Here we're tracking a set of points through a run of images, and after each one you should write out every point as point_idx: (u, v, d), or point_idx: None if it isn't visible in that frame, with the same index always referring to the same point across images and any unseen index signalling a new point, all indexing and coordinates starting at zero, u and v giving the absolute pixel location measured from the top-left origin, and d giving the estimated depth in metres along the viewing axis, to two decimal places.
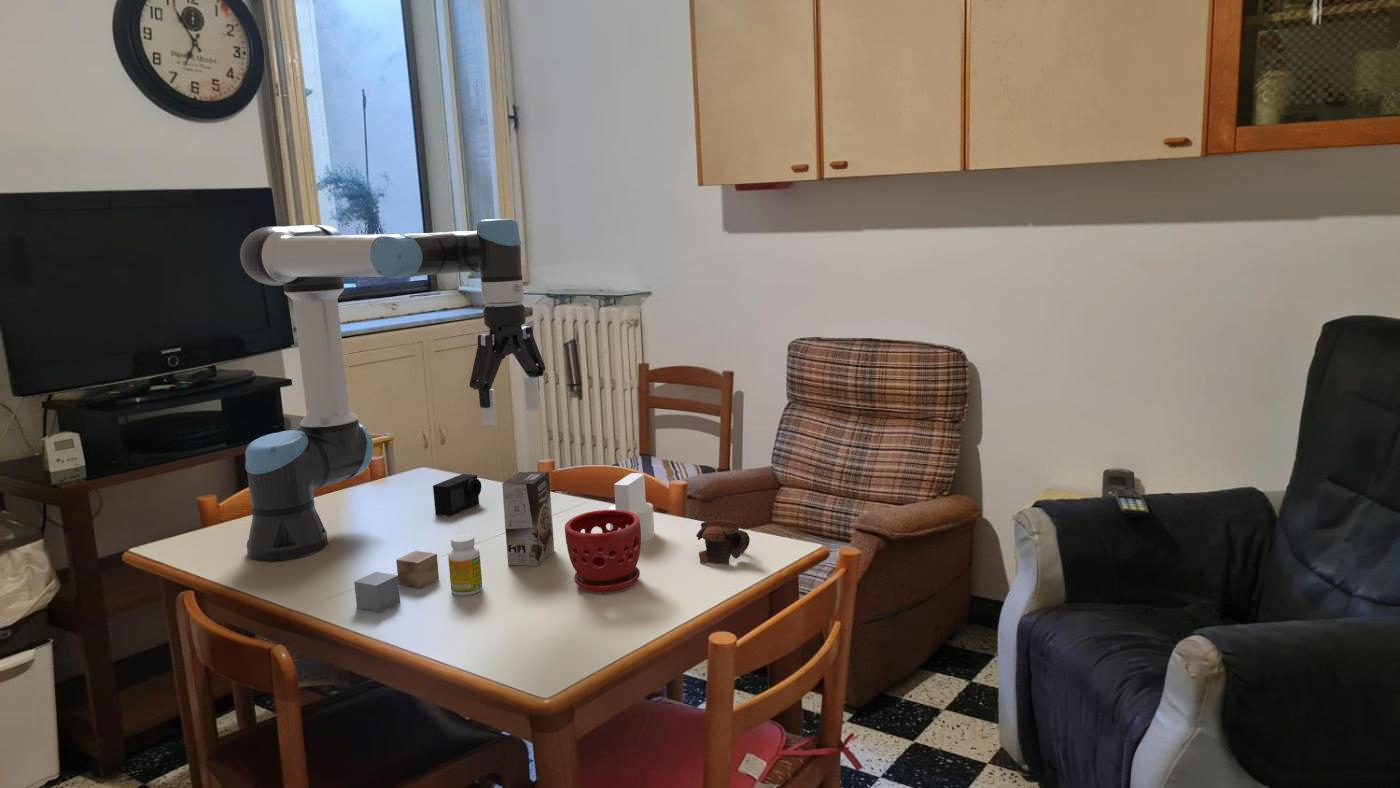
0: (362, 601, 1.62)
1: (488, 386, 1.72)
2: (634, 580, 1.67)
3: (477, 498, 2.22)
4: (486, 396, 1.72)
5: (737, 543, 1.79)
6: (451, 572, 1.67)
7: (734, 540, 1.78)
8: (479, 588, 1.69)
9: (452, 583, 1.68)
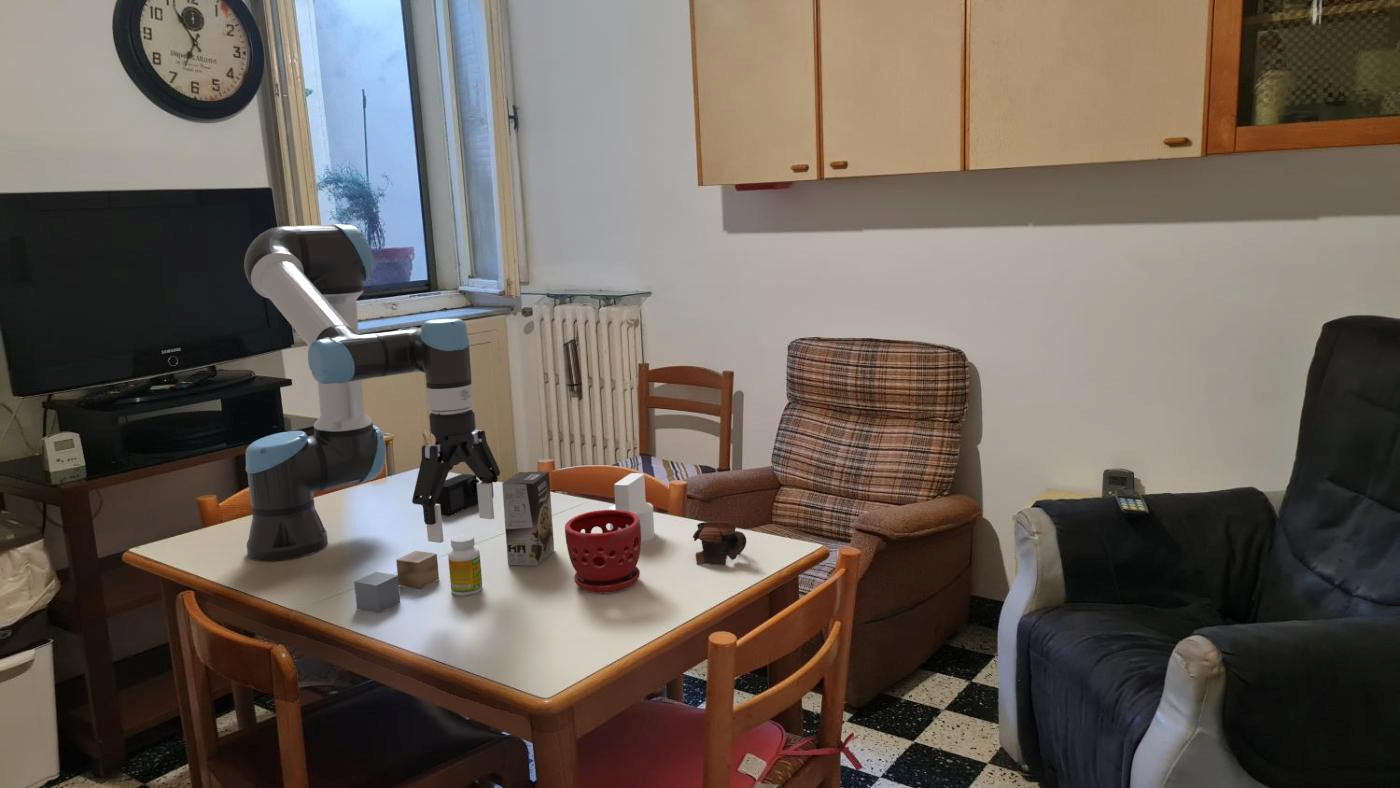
0: (362, 601, 1.62)
1: (433, 502, 1.59)
2: (634, 580, 1.67)
3: (476, 498, 2.22)
4: (431, 512, 1.59)
5: (734, 544, 1.78)
6: (451, 572, 1.67)
7: (730, 541, 1.78)
8: (479, 588, 1.69)
9: (452, 583, 1.68)
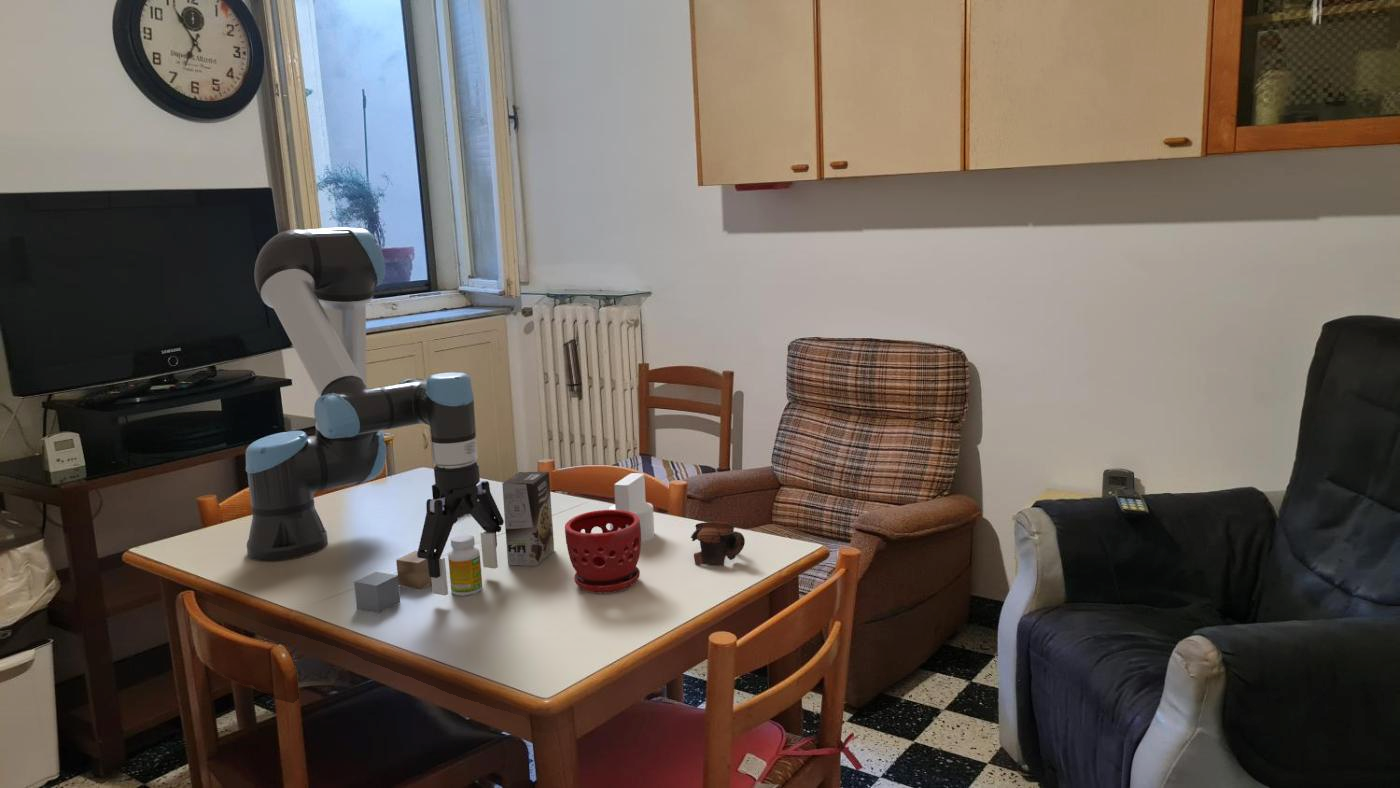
0: (362, 601, 1.62)
1: (437, 556, 1.60)
2: (634, 580, 1.67)
3: None
4: (435, 566, 1.61)
5: (732, 544, 1.78)
6: (451, 572, 1.67)
7: (729, 541, 1.78)
8: (479, 588, 1.69)
9: (452, 583, 1.68)
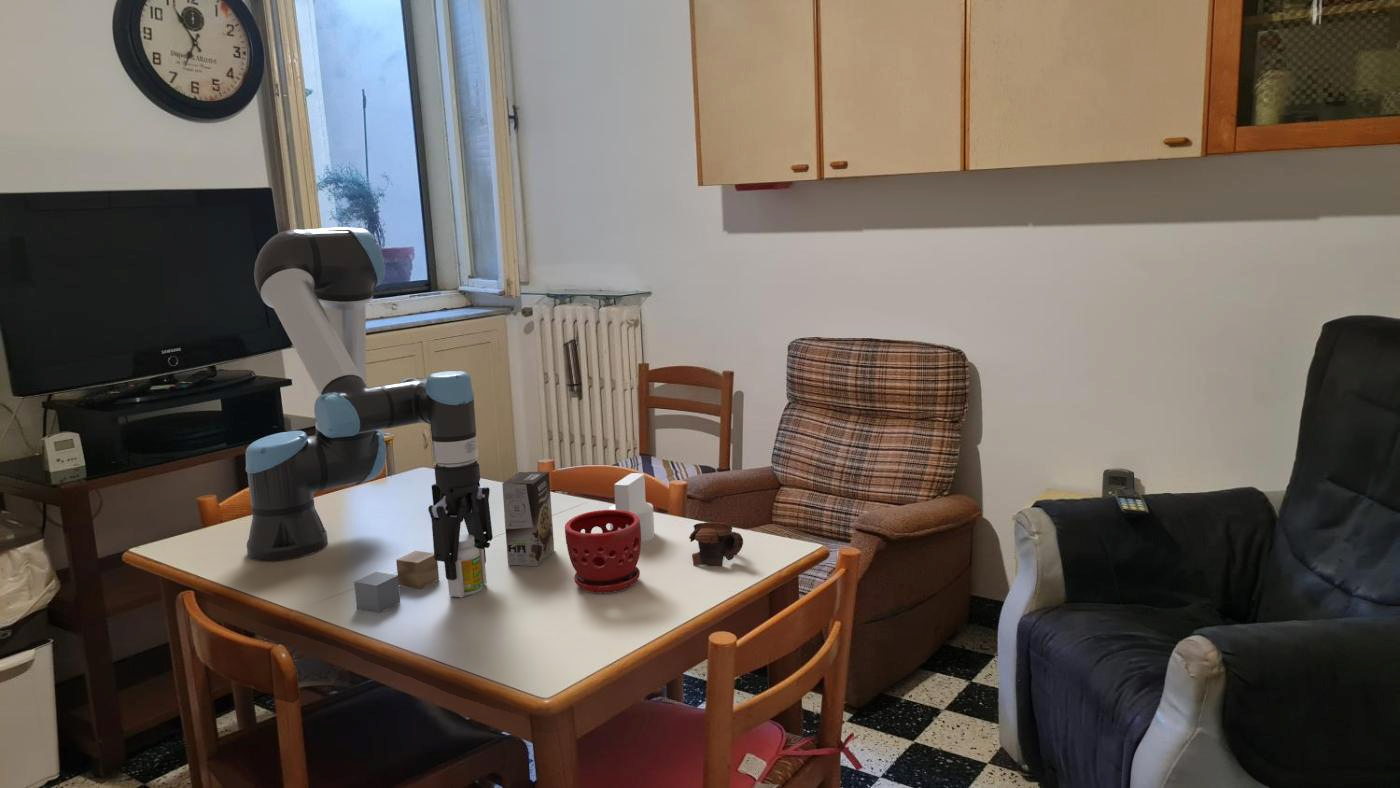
0: (362, 601, 1.62)
1: (454, 559, 1.64)
2: (634, 580, 1.67)
3: None
4: (452, 568, 1.64)
5: (730, 545, 1.78)
6: None
7: (727, 541, 1.77)
8: (479, 588, 1.69)
9: None
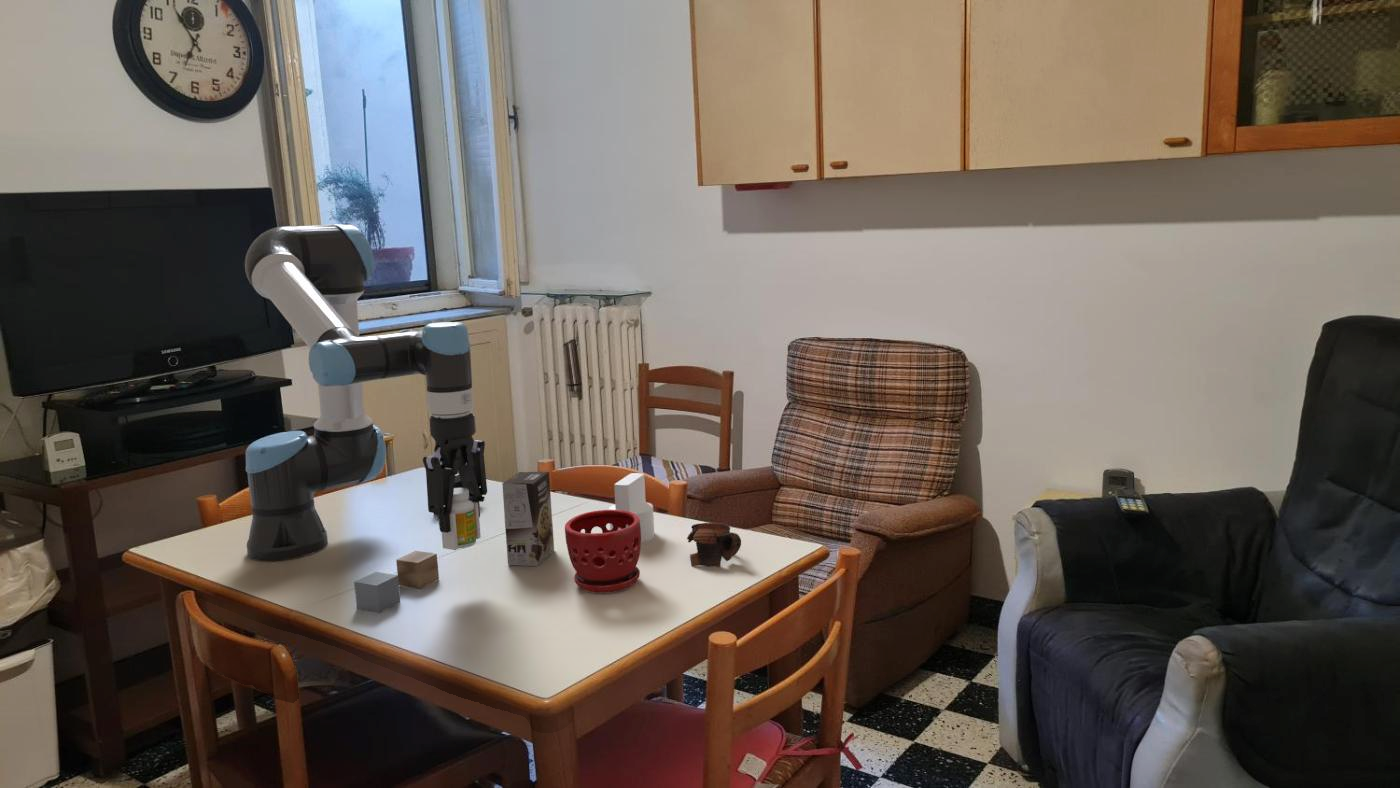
0: (362, 601, 1.62)
1: (448, 511, 1.63)
2: (634, 580, 1.67)
3: None
4: (446, 520, 1.63)
5: (728, 545, 1.78)
6: None
7: (725, 542, 1.77)
8: (473, 542, 1.67)
9: None
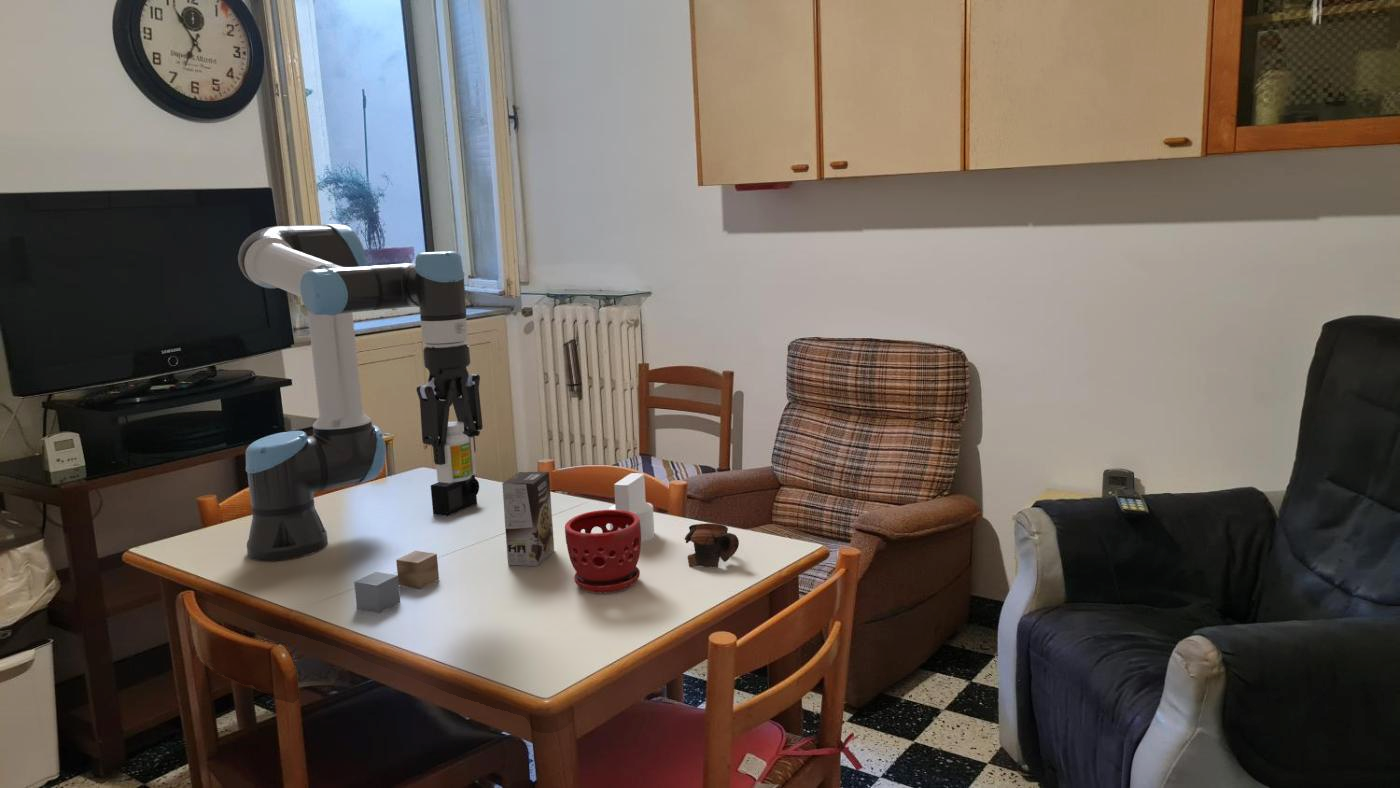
0: (362, 601, 1.62)
1: (443, 442, 1.60)
2: (634, 580, 1.67)
3: (475, 498, 2.22)
4: (441, 452, 1.61)
5: (726, 546, 1.77)
6: None
7: (723, 543, 1.77)
8: (468, 475, 1.65)
9: None
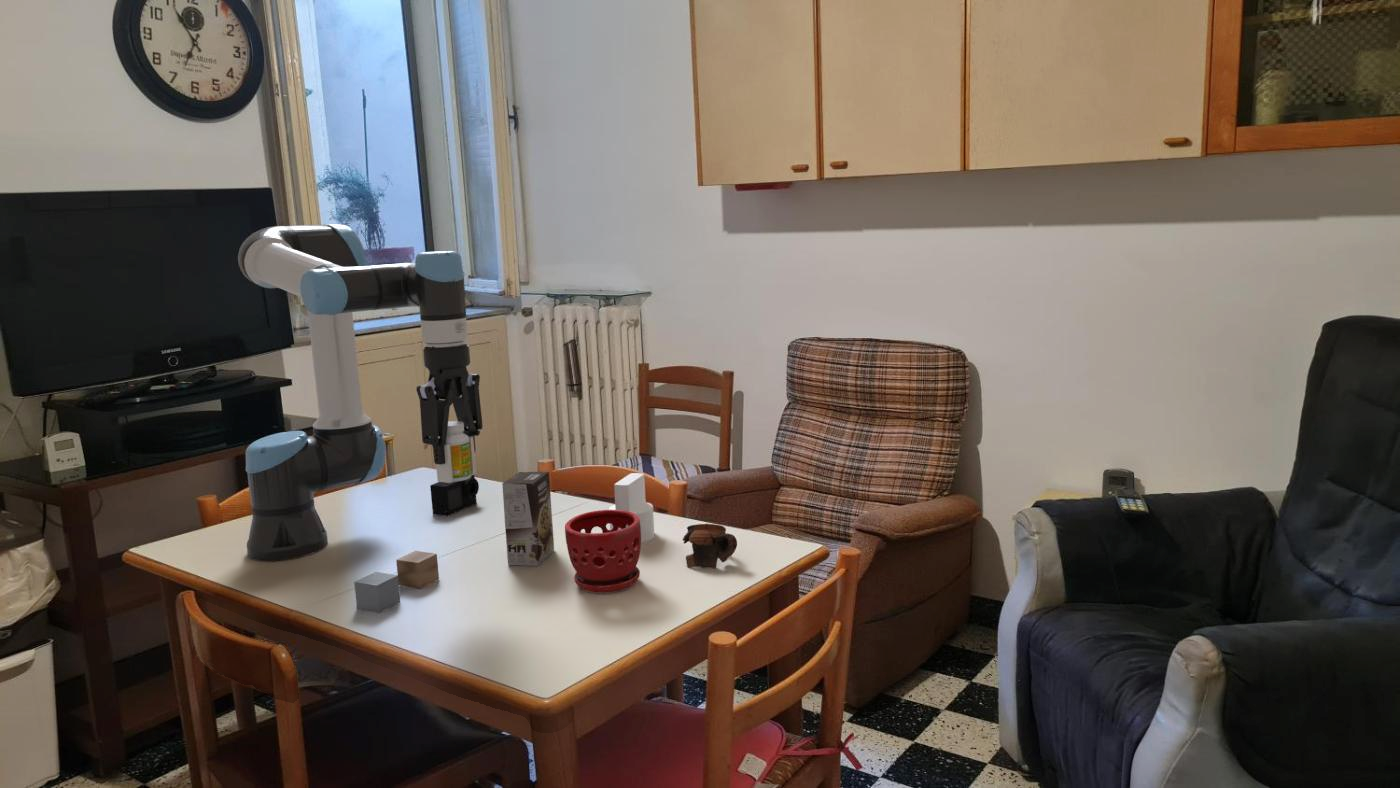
0: (362, 601, 1.62)
1: (443, 442, 1.60)
2: (634, 580, 1.67)
3: (474, 498, 2.22)
4: (441, 452, 1.61)
5: (724, 546, 1.77)
6: None
7: (721, 543, 1.77)
8: (468, 475, 1.65)
9: None
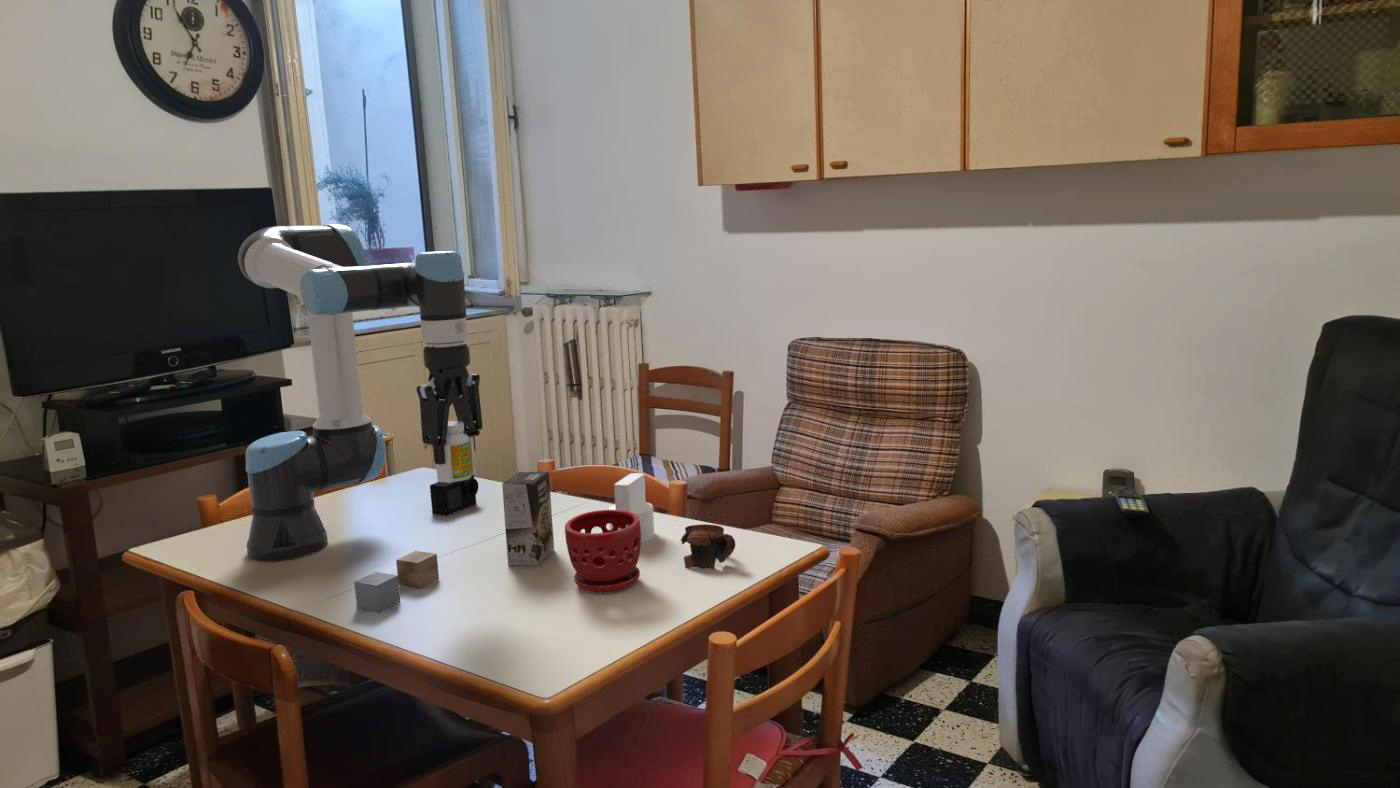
0: (362, 601, 1.62)
1: (443, 442, 1.60)
2: (634, 580, 1.67)
3: (474, 498, 2.22)
4: (441, 452, 1.61)
5: (722, 547, 1.77)
6: None
7: (719, 544, 1.76)
8: (468, 475, 1.65)
9: None
